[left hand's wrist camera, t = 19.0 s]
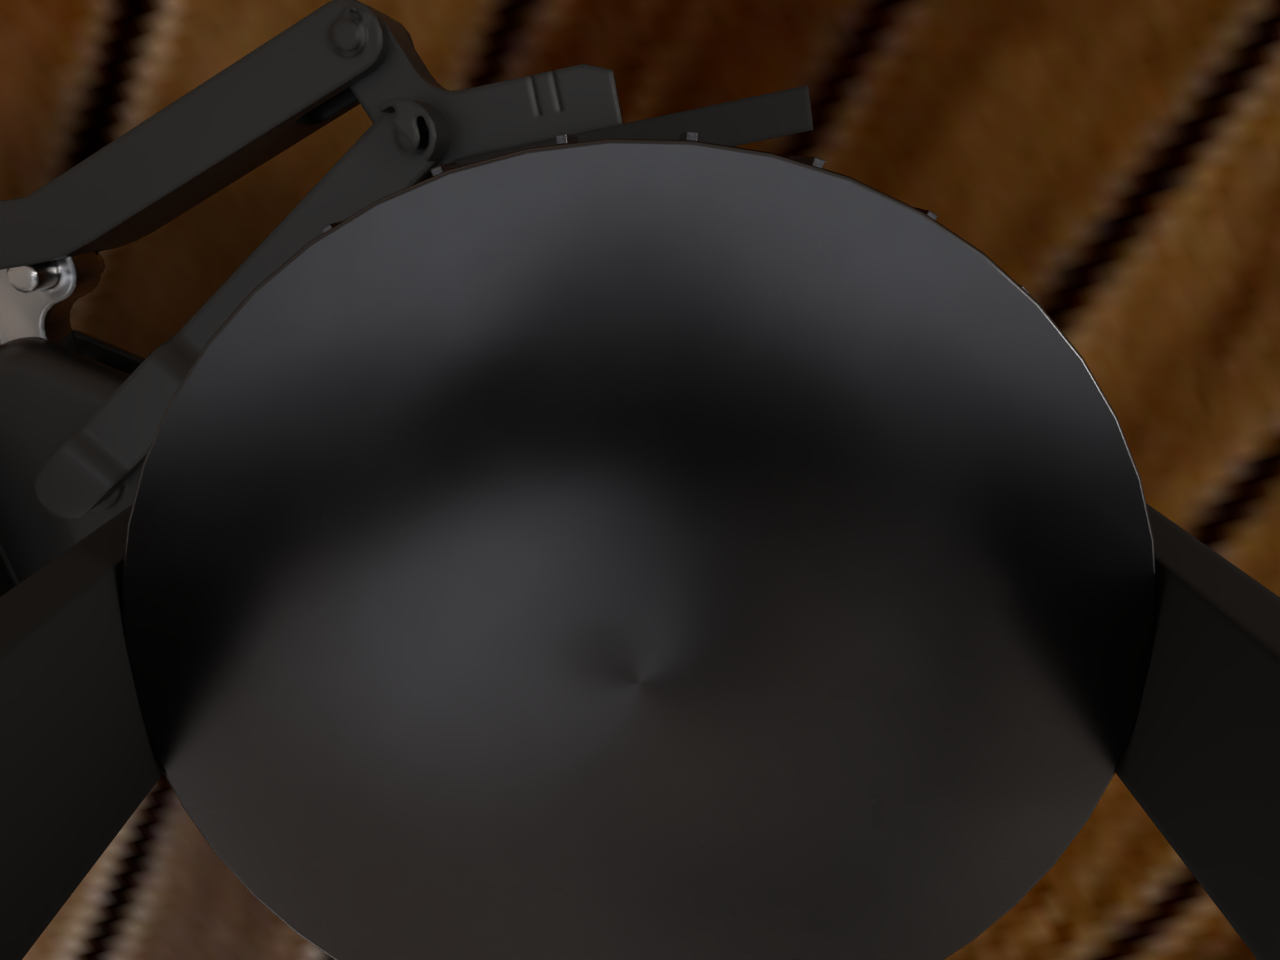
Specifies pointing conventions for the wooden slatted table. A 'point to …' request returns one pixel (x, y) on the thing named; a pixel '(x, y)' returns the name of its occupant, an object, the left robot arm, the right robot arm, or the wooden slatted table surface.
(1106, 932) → the wooden slatted table surface
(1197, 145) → the wooden slatted table surface
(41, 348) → the right robot arm
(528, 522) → the lid
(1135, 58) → the wooden slatted table surface
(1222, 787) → the left robot arm
